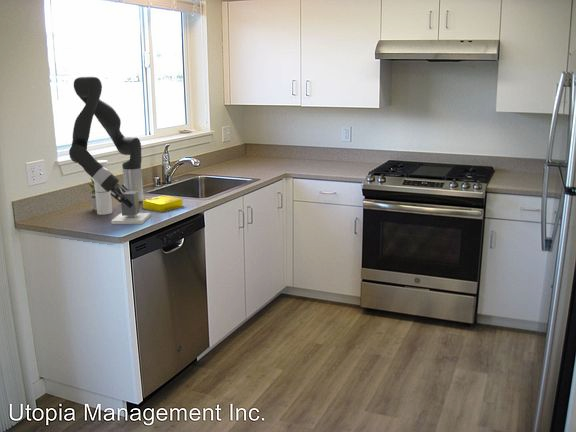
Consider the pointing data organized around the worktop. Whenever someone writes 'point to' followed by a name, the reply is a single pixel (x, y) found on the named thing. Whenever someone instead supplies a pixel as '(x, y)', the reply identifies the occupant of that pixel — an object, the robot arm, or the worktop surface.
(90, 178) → the house plant
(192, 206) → the worktop surface
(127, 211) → the tall grey pillar
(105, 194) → the cylindrical container
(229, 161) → the worktop surface
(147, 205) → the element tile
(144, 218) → the stud plate
